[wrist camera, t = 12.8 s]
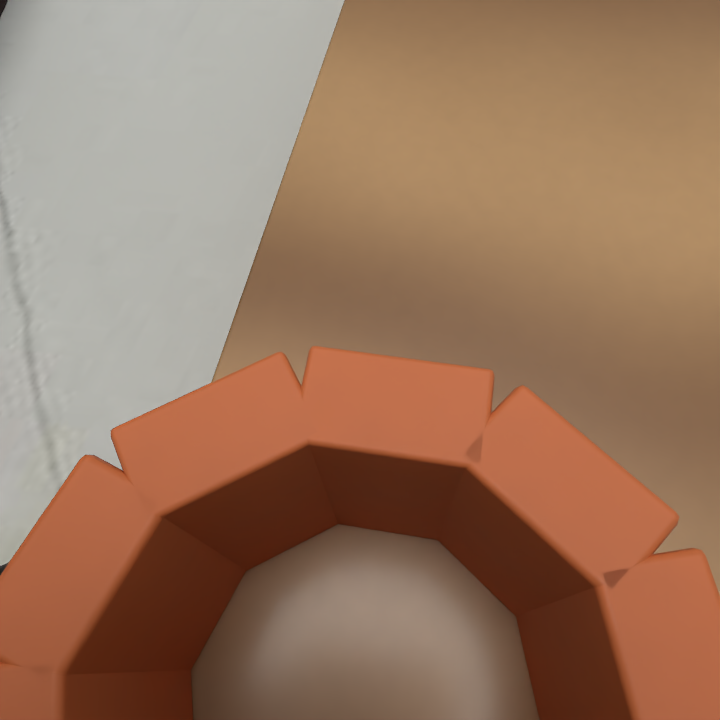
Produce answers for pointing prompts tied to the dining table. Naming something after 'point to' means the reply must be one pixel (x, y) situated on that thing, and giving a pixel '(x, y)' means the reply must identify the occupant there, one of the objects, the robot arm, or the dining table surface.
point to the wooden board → (483, 313)
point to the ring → (359, 509)
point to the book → (2, 5)
